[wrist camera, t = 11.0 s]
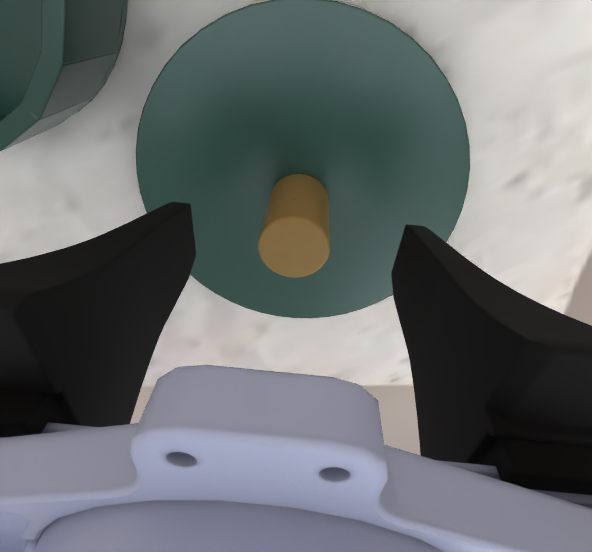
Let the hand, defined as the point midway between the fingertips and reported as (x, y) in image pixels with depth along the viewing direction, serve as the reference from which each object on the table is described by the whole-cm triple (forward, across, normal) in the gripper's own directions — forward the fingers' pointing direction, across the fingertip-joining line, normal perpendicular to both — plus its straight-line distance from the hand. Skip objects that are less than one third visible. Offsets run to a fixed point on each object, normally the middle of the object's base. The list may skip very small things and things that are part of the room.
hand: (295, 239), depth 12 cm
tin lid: (+3, 0, 0) cm, 4 cm away
